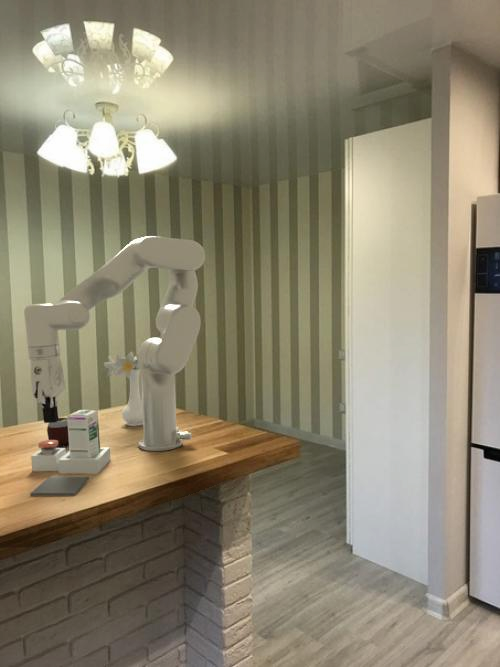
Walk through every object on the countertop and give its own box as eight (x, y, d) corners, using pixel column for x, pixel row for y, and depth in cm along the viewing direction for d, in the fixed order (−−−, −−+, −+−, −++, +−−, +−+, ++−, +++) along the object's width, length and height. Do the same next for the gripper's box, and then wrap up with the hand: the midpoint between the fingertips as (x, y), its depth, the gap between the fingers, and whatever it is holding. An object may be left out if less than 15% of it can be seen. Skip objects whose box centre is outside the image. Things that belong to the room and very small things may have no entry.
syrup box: (90, 471, 133) (88, 415, 132) (69, 469, 134) (66, 414, 133) (101, 463, 139) (98, 409, 137) (81, 462, 140) (78, 409, 139)
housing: (110, 460, 141) (109, 445, 141) (98, 473, 131) (97, 457, 131) (45, 460, 142) (44, 446, 141) (28, 473, 132) (28, 458, 132)
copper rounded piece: (62, 461, 139) (61, 439, 139) (54, 467, 134) (53, 445, 134) (44, 461, 139) (43, 439, 139) (36, 467, 134) (35, 445, 134)
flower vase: (116, 418, 186) (113, 348, 184) (165, 420, 183) (163, 349, 181) (99, 428, 174) (96, 353, 171) (152, 430, 170) (149, 353, 168)
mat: (89, 479, 127) (89, 476, 127) (74, 495, 117) (74, 492, 117) (48, 479, 128) (48, 477, 128) (30, 495, 118) (30, 493, 118)
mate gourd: (72, 448, 152) (69, 397, 151) (43, 451, 150) (40, 399, 149) (74, 441, 159) (72, 392, 158) (47, 443, 158) (44, 394, 156)
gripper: (46, 356, 127) (54, 429, 129) (69, 347, 141) (75, 413, 144) (16, 357, 127) (24, 431, 129) (42, 348, 142) (48, 414, 144)
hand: (51, 421), depth 136 cm, fingers closed
